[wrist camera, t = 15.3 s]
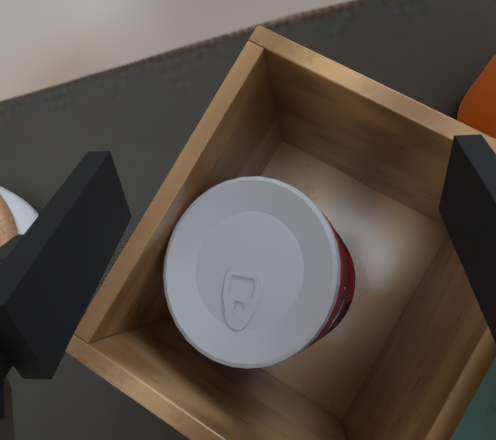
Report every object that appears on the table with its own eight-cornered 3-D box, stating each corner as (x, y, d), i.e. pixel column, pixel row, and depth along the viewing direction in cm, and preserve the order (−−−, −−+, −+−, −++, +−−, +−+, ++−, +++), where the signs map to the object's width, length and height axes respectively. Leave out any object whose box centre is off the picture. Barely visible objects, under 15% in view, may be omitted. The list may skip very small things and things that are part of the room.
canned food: (247, 347, 28) (167, 377, 18) (234, 228, 30) (154, 192, 20) (367, 336, 26) (355, 363, 16) (346, 209, 28) (323, 157, 17)
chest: (167, 317, 30) (61, 350, 17) (278, 129, 31) (257, 23, 18) (345, 433, 28) (378, 573, 15) (462, 226, 29) (594, 185, 16)
